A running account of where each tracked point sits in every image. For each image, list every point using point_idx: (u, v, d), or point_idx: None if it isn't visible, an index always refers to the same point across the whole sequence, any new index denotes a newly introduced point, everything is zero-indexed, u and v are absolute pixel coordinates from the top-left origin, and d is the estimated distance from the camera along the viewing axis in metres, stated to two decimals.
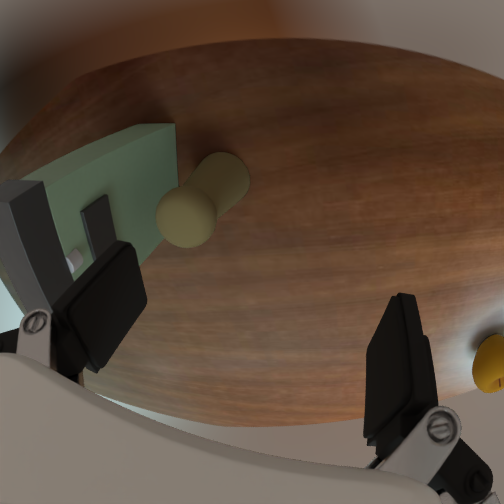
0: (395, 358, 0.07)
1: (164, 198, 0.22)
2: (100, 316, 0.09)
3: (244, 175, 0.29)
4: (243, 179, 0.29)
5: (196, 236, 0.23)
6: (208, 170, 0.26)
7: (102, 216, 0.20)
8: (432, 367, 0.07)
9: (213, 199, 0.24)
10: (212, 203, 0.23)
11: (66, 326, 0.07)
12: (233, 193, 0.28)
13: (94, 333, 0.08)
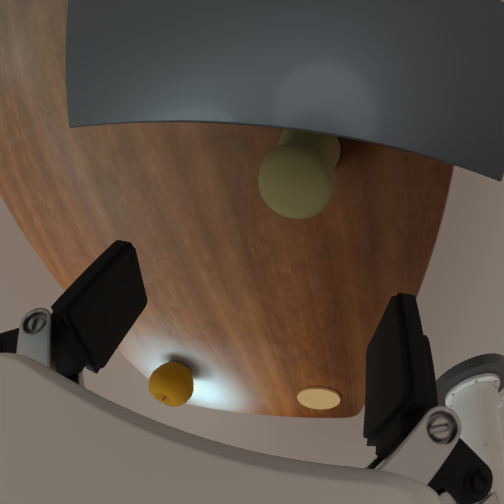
0: (395, 358, 0.07)
1: (329, 171, 0.17)
2: (100, 316, 0.09)
3: None
4: None
5: (281, 210, 0.19)
6: None
7: None
8: (432, 367, 0.07)
9: None
10: None
11: (66, 326, 0.07)
12: None
13: (94, 333, 0.08)
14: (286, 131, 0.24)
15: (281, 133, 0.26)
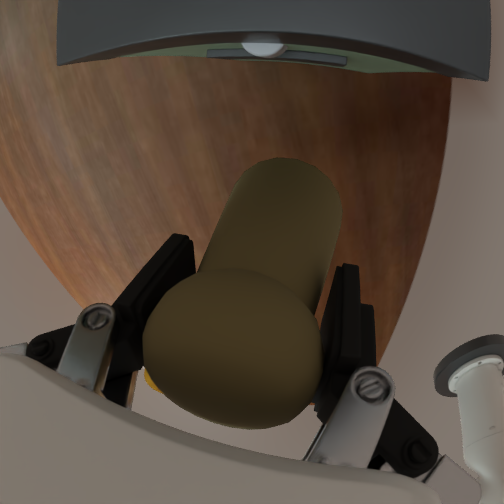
0: (332, 320, 0.08)
1: (302, 376, 0.06)
2: None
3: None
4: None
5: (198, 416, 0.08)
6: (326, 276, 0.12)
7: (316, 62, 0.11)
8: (373, 333, 0.08)
9: None
10: None
11: (131, 321, 0.08)
12: None
13: None
14: (237, 190, 0.13)
15: (234, 186, 0.15)
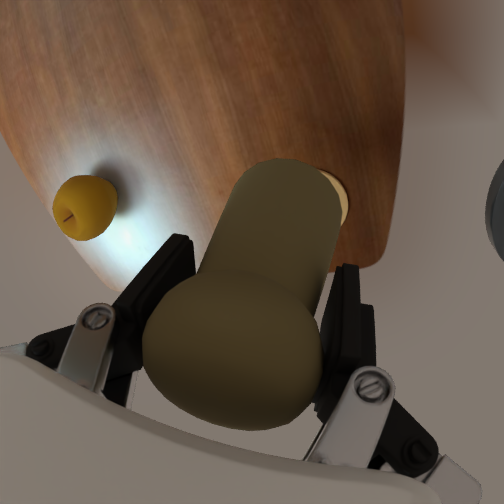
0: (332, 320, 0.08)
1: (302, 378, 0.06)
2: None
3: None
4: None
5: (197, 417, 0.08)
6: None
7: None
8: (373, 333, 0.08)
9: None
10: None
11: (131, 321, 0.08)
12: None
13: None
14: (237, 191, 0.13)
15: (234, 186, 0.15)
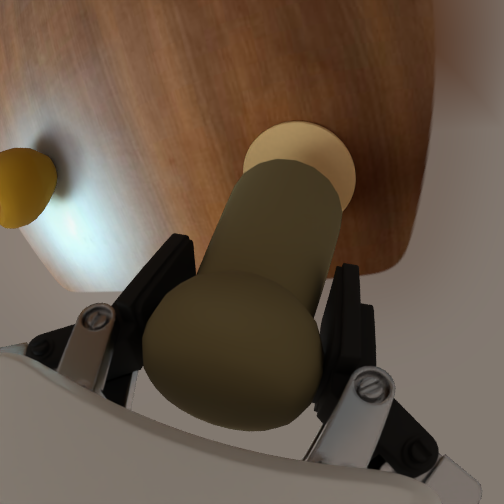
0: (332, 320, 0.08)
1: (301, 379, 0.06)
2: None
3: None
4: None
5: (197, 417, 0.08)
6: None
7: None
8: (373, 333, 0.08)
9: None
10: None
11: (131, 321, 0.08)
12: None
13: None
14: (237, 191, 0.13)
15: (234, 187, 0.15)
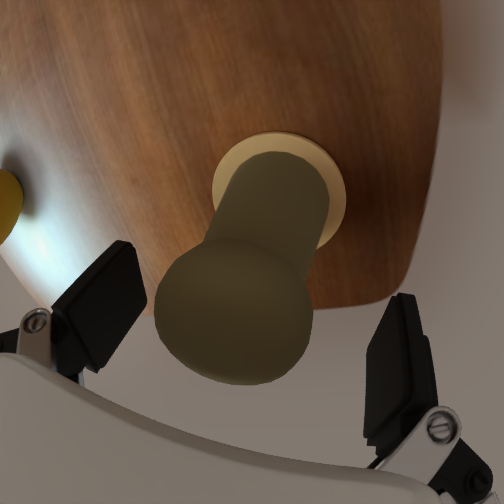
0: (395, 358, 0.07)
1: (293, 324, 0.08)
2: (100, 316, 0.09)
3: None
4: None
5: (202, 375, 0.09)
6: (314, 253, 0.13)
7: None
8: (432, 367, 0.07)
9: None
10: None
11: (66, 326, 0.07)
12: None
13: (94, 333, 0.08)
14: (234, 180, 0.14)
15: (231, 177, 0.16)
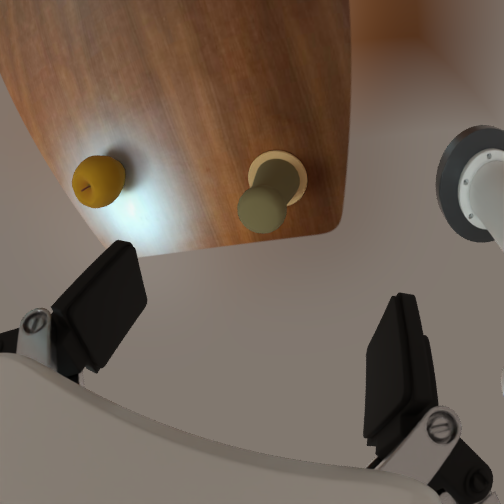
0: (395, 358, 0.07)
1: (279, 205, 0.29)
2: (100, 316, 0.09)
3: None
4: None
5: (251, 228, 0.31)
6: (290, 197, 0.35)
7: None
8: (432, 367, 0.07)
9: None
10: None
11: (66, 326, 0.07)
12: None
13: (94, 333, 0.08)
14: (259, 170, 0.36)
15: (257, 169, 0.38)
